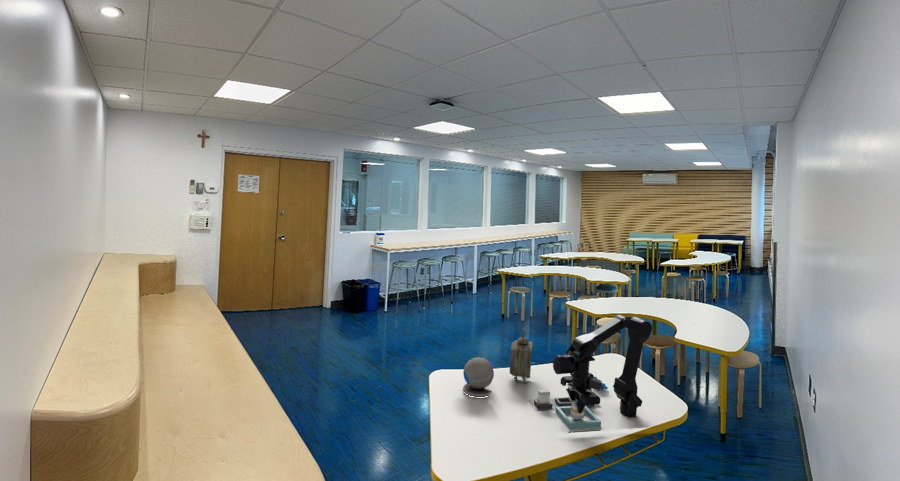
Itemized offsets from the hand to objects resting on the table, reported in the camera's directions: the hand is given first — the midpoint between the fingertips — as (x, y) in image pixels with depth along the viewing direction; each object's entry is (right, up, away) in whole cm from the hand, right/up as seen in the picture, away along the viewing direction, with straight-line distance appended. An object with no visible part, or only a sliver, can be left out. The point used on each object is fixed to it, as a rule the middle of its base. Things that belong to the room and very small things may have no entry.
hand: (578, 411), depth 167 cm
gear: (+16, -2, +29) cm, 34 cm away
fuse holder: (-2, -3, +12) cm, 13 cm away
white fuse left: (-11, -2, +11) cm, 15 cm away
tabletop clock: (-16, 0, +36) cm, 40 cm away
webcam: (-37, -1, +24) cm, 44 cm away
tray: (0, -5, +1) cm, 5 cm away
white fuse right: (+7, -2, +14) cm, 15 cm away
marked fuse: (0, -2, 0) cm, 2 cm away
